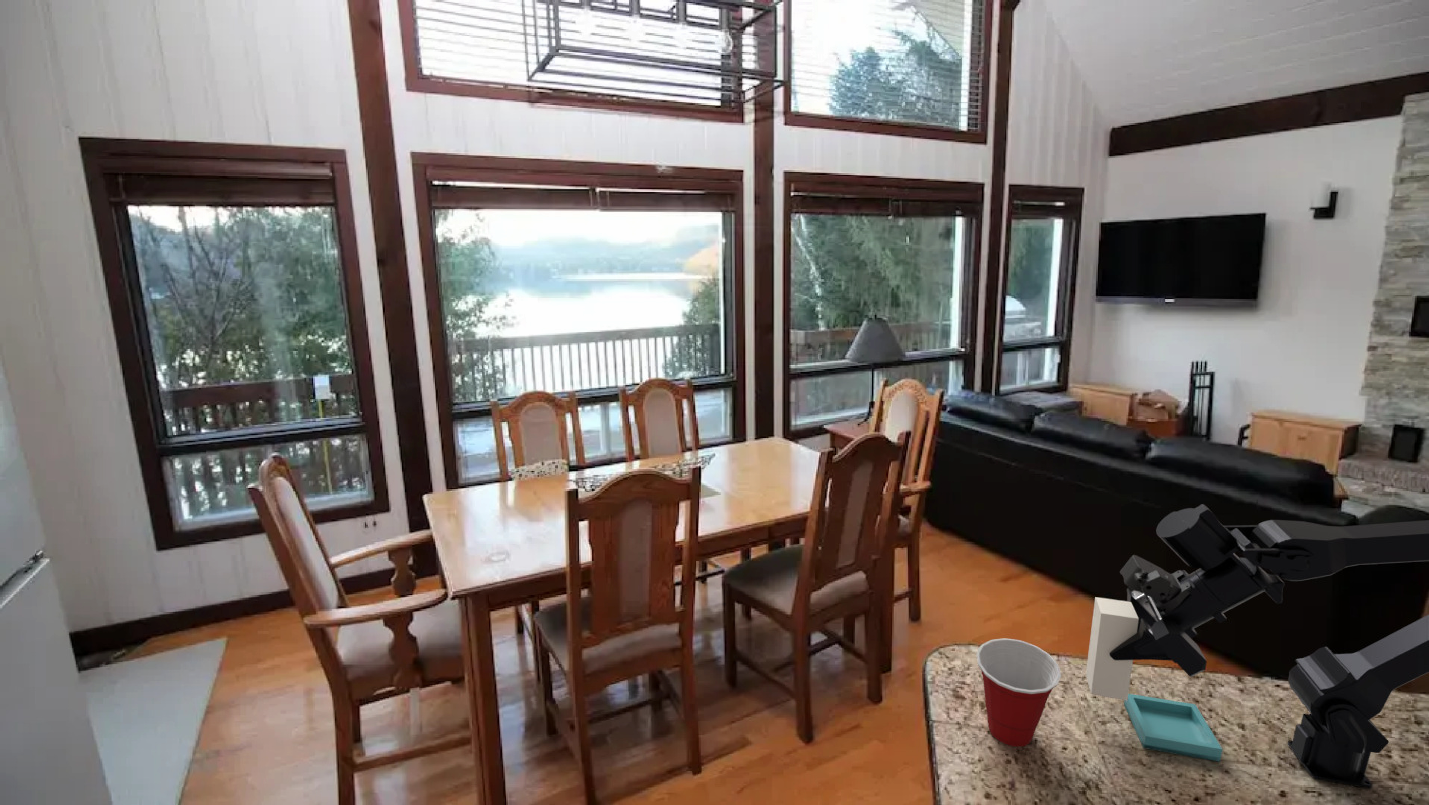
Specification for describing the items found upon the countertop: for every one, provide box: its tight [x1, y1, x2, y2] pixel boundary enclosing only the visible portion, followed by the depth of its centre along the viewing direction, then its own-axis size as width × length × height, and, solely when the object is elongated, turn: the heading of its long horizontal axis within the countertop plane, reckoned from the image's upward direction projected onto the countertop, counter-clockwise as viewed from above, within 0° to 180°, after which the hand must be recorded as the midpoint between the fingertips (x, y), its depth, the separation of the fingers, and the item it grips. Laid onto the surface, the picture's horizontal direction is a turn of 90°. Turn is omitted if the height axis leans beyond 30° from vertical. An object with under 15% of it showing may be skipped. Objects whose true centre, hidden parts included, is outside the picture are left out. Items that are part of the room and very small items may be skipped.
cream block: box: [1085, 596, 1139, 701], centre depth 93 cm, size 4×4×13 cm
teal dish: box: [1123, 693, 1223, 763], centre depth 93 cm, size 9×9×2 cm
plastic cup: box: [975, 637, 1062, 748], centre depth 92 cm, size 11×11×12 cm
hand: (1108, 647), depth 93 cm, fingers closed on cream block, 4 cm apart
